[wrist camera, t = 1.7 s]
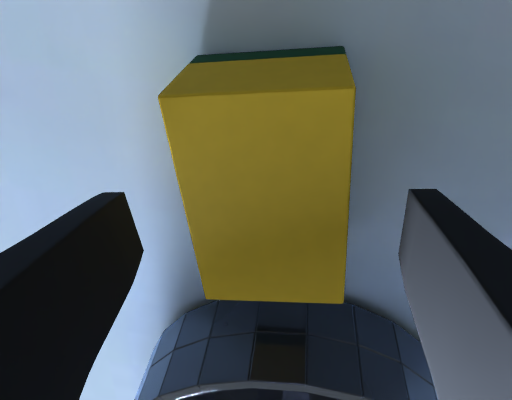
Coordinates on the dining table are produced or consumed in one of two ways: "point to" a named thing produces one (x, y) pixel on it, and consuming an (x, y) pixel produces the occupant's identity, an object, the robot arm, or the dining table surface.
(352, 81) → the sponge
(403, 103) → the dining table surface
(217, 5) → the dining table surface
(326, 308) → the bowl
